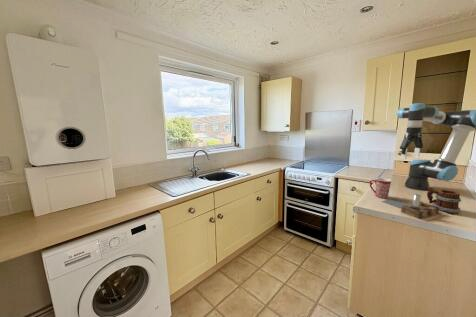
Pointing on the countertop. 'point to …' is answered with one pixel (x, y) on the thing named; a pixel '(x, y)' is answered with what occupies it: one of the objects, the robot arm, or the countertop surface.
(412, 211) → the hole block
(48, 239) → the countertop surface
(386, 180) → the mug
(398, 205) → the mat
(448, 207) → the mug
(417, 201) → the peg
